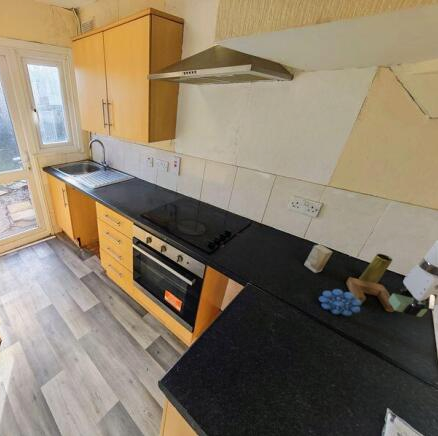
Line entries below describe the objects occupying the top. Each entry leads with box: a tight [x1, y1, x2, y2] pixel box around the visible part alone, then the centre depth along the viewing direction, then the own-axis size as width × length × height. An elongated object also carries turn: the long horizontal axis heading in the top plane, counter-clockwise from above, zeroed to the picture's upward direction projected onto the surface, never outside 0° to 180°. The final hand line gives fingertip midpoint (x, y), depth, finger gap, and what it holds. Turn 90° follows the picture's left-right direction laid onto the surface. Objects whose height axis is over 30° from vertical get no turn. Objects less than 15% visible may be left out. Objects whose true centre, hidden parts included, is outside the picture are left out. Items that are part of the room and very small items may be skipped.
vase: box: [358, 253, 393, 284], centre depth 99 cm, size 6×6×14 cm
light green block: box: [388, 292, 428, 318], centre depth 79 cm, size 7×5×4 cm
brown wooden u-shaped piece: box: [345, 276, 395, 313], centre depth 94 cm, size 12×12×4 cm
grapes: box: [318, 288, 363, 317], centre depth 85 cm, size 12×7×12 cm, turn 46°
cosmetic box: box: [303, 243, 333, 274], centre depth 107 cm, size 6×4×12 cm
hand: (405, 307), depth 79 cm, fingers closed on light green block, 5 cm apart
